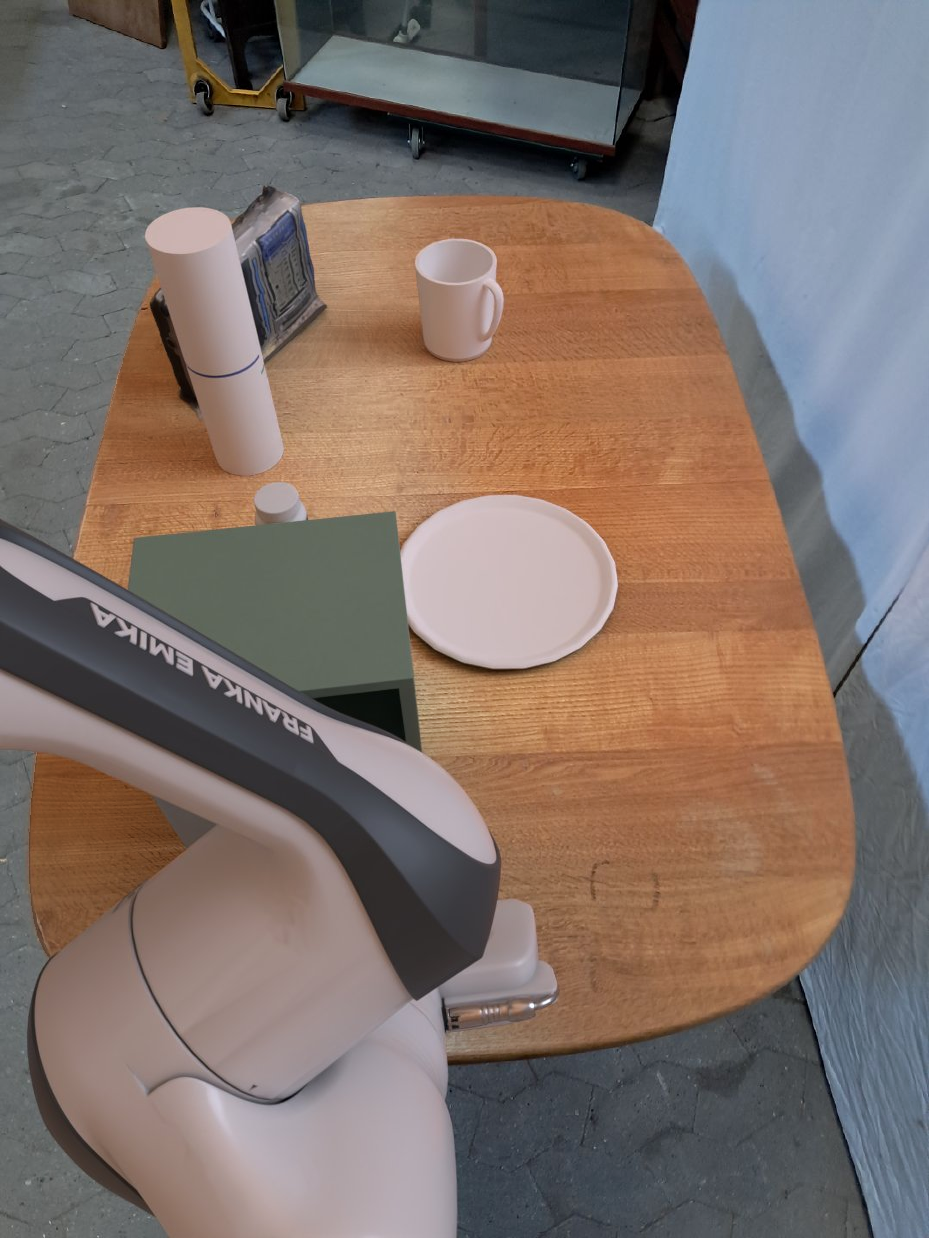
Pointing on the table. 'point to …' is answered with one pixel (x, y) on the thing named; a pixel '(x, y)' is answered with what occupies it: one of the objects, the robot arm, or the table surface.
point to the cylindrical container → (217, 336)
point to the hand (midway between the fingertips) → (364, 906)
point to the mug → (458, 298)
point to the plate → (507, 582)
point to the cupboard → (298, 607)
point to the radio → (260, 281)
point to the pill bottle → (278, 504)
